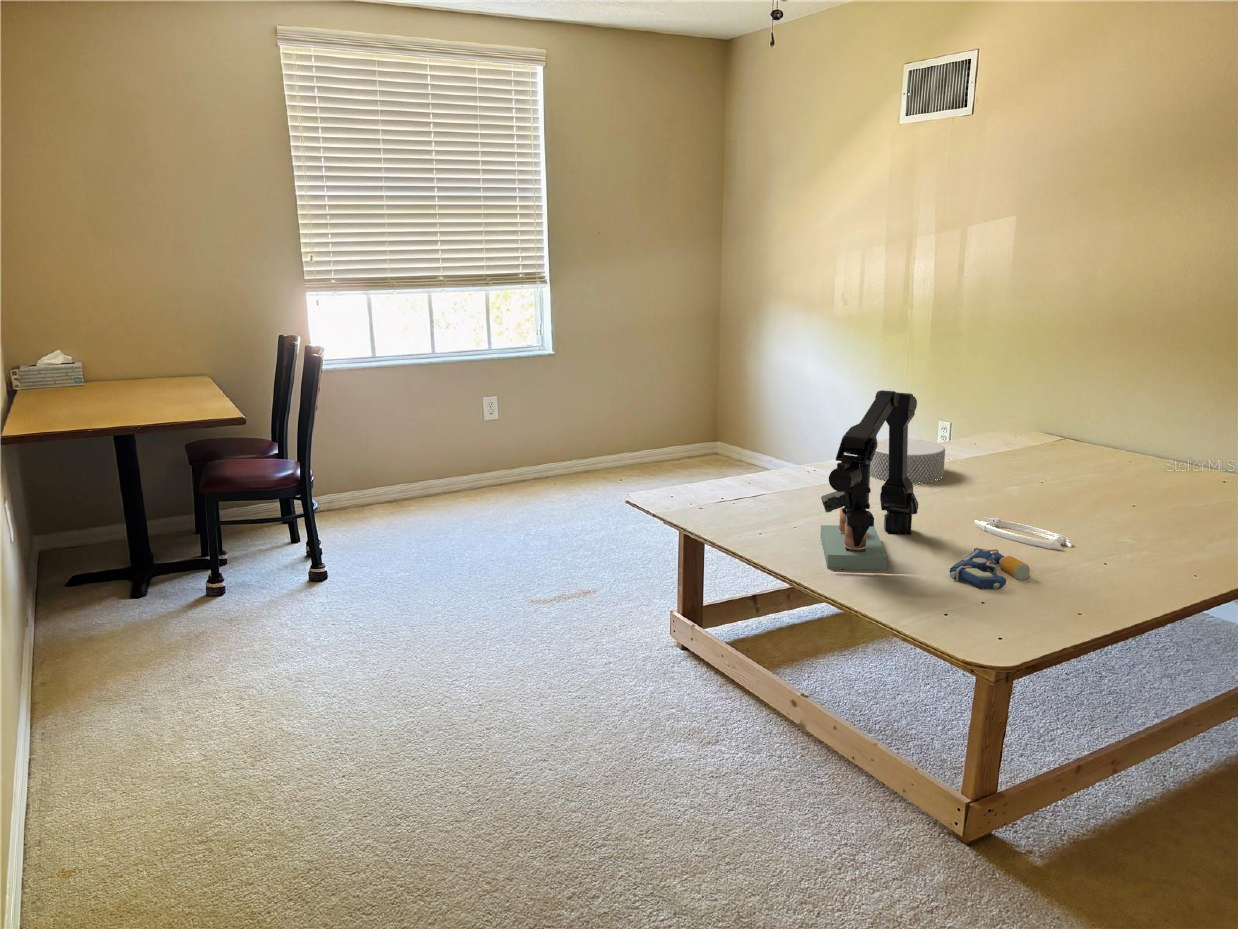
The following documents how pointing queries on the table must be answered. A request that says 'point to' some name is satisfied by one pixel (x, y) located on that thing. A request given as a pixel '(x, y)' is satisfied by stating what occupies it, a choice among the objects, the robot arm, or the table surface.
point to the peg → (850, 543)
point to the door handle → (1050, 543)
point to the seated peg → (842, 522)
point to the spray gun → (988, 569)
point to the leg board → (845, 559)
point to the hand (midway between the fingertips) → (855, 542)
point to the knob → (911, 461)
